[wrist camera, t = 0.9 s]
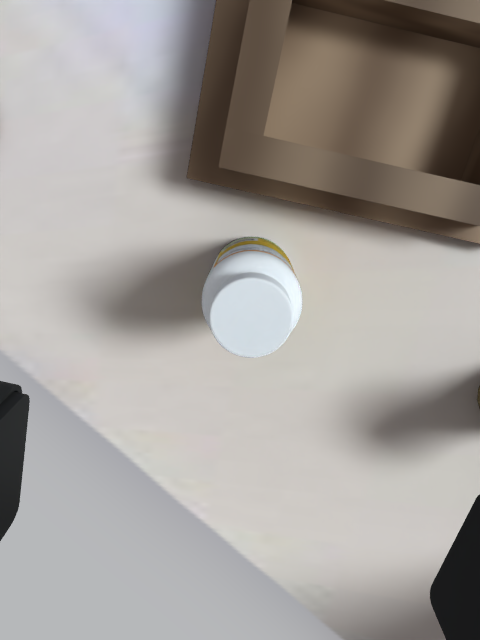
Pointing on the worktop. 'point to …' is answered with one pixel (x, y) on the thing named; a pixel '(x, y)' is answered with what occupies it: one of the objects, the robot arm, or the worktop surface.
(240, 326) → the supplement bottle
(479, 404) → the cork
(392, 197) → the brown rectangular recessed tray
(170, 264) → the worktop surface
